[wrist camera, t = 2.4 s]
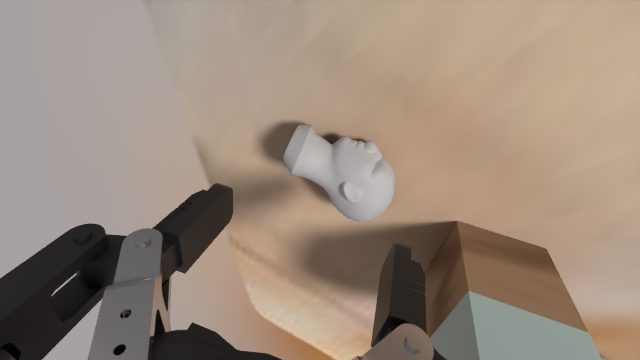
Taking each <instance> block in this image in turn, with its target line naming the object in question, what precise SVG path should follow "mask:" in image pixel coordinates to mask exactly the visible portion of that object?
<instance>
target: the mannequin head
mask: <svg viewBox="0 0 640 360" xmlns="http://www.w3.org/2000/svg"><path fill="white" fill-rule="evenodd" d="M283 161H284V163H285V164H286V166H287V168H288V170H289V172H290V174H291V175H295V176H300V177H304V178H307V179H309V180H311V181H313V182H315V183H317V184H318V185H320V186H321V187H322V188H324V189H325V190H326V192H327V193H328V195H329V197H330V199H331V201H332V203H333V205H334V206H335V207H336V208H337V210H338V211H339V212H340V213H342V214H343V215H344V216H346V217H347V218H349V219H352V220H354V221H359V222H365V221H370V220H373V219H375V218H376V217H378V216H379V215H381V214H382V213H383V212H384V211H385V210H386V208H387V207H388V205H389V204H390V202H391V200H392V198H393V195H394V189H395V177H394V172H393V169H392V166H391V164H390V163H389V162H388V160H387V159H386V158H384V157H383V156H382V154H381V152H380V150H379V148H378V146H377V145H376V143H375V142H373V141H367V142H365V143H364V142H362V141H356V140H352V139H351V138H349V137H348V136H343V137H341V138H340V139H339V140H337V141H336V142H335V143H334V144H330V143H329V142H327V141H326V140H325V139H323V138H322V137H321V136H319V135H318V134H317V133H316V132H315V130H314V127H313V125H298V127H297V128H296V130H295V132H294V134H293V136H292V138H291V140H290V142H289V144H288V146H287V149H286V151H285V154H284V157H283Z"/></svg>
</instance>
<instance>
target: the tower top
mask: <svg viewBox="0 0 640 360" xmlns="http://www.w3.org/2000/svg"><path fill="white" fill-rule="evenodd" d="M430 340H431V342H432V344H433V347H434V348H435V349H436V351H437V352H438V353H439V354H440V355H442V356H443V357H444V358H445V359H447V360H602V359H601V357H600V355H599V353H598V351H597V349H596V347H595V345H594V343H593V341H592V339H591V337H590V335H589V333H588V332H585V331H582V330H579V329H577V328H574V327H571V326H568V325H565V324H562V323H559V322H557V321H554V320H551V319H548V318H545V317H542V316H539V315H537V314H534V313H531V312H528V311H525V310H522V309H519V308H517V307H514V306H511V305H508V304H505V303H502V302H499V301H497V300H494V299H491V298H488V297H485V296H482V295H479V294H477V293H474V292H471V291H468V292H467V293H466V294H465V296H464V297H463V298H462V299H461V301H460V302H459V303H458V304H457V305H456V307H455V308H454V309H453V310H452V312H451V313H450V314H449V315H448V317H447V318H446V319H445V320H444V321H443V323H442V324H441V325H440V326H439V328H438V329H437V330H436V331H435V332H434V334H433V335H432V336H431V337H430Z"/></svg>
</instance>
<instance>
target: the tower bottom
mask: <svg viewBox="0 0 640 360" xmlns="http://www.w3.org/2000/svg"><path fill="white" fill-rule="evenodd" d="M425 287H426V329H427V335H428V337H429V338H430V337H431V336H432V335H433V334H434V332H435V331H436V330H437V329H438V328H439V326H440V325H441V324H442V323H443V321H444V320H445V319H446V318H447V317H448V315H449V314H450V313H451V312H452V310H453V309H454V308H455V307H456V305H457V304H458V303H459V302H460V301H461V299H462V298H463V297H464V296H465V294H466V293H467V292H468V291H471V292H474V293H477V294H479V295H482V296H485V297H488V298H491V299H494V300H497V301H499V302H502V303H505V304H508V305H511V306H514V307H517V308H519V309H522V310H525V311H528V312H531V313H534V314H537V315H539V316H542V317H545V318H548V319H551V320H554V321H557V322H559V323H562V324H565V325H568V326H571V327H574V328H577V329H579V330H582V331H585V332H588V331H587V329H586V327H585V325H584V323H583V321H582V319H581V317H580V315H579V313H578V311H577V309H576V307H575V305H574V303H573V301H572V299H571V297H570V295H569V293H568V291H567V289H566V287H565V285H564V283H563V281H562V279H561V277H560V275H559V273H558V271H557V269H556V267H555V265H554V263H553V261H552V259H551V257H550V255H549V253H548V251H547V249H545V248H542V247H539V246H536V245H532V244H529V243H526V242H523V241H520V240H517V239H513V238H510V237H507V236H504V235H501V234H498V233H495V232H491V231H488V230H485V229H482V228H479V227H476V226H472V225H469V224H466V223H463V222H460V221H457V222H456V223H455V225H454V227H453V228H452V230H451V232H450V233H449V235H448V236H447V238H446V240H445V241H444V243H443V244H442V246H441V248H440V249H439V251H438V252H437V254H436V256H435V257H434V259H433V261H432V262H431V264H430V265H429V267H428V269H427V270H426V272H425Z"/></svg>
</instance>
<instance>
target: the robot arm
mask: <svg viewBox="0 0 640 360" xmlns="http://www.w3.org/2000/svg"><path fill="white" fill-rule="evenodd" d="M232 214H233V190H232V188H230V187H227V186H224V185H221V184H218V183H216V184H214V185H213V186H212V187H211V188H210V189H209V190H207V191H205V190H202V191H199V192H197V193H195V194H193V195H191V196H190V197H189V198H188V199H187V200H185V202H183V203H182V204H181V205H180V206H179V207H178V208H176V209H175V210H174V211H172V212H171V213H170V214H169V215H168V216H167V217H165V218H164V219H163V220H162V221H161V222H160V223H158V224H157V225H156V226H155V227H153V228H152V229H149V228H147V229H141V230H137V231H135V232H133V233H131V234H129V235H128V236H120V235H106V233H105V230H104V228H103V227H102V226H100V225H97V224H84V225H80V226H77V227H74V228H72V229H70V230H69V231H67V232H66V233H64V234H63V235H61V236H60V237H59V238H57V239H56V240H54V241H53V242H52V243H50V244H49V245H47V246H46V247H45V248H43V249H42V250H41V251H39V252H38V253H36V254H35V255H34V256H32V257H30V258H29V259H27V260H26V261H25V262H23V263H22V264H20V265H19V266H17V267H16V268H15V269H13V270H12V271H10V272H9V273H7V274H6V275H5V276H3V277H2V278H0V360H42V359H43V358H44V357H45V356H46V355H47V354H48V353H49V352H50V351H51V350H52V348H54V347H55V346H56V344H58V342H60V341H61V340H62V339H63V338H64V337H65V336H66V335H67V333H68V332H69V331H70V330H71V329H72V328H73V327H74V326H75V325H76V324H77V323H78V322H79V321H80V320H81V319H82V318H83V317H84V316H85V315H86V314H87V313H88V312H89V311H90V310H91V309H92V308H93V307H94V306H95V305H96V304H97V303H98V302H99V301H100V300H101V299H102V298H103V299H102V303H101V307H100V311H99V315H98V319H97V324H96V327H95V331H94V336H93V340H92V344H91V348H90V352H89V356H88V360H281V359H279V358H277V357H274V356H272V355H270V354H265V353H257V352H247V351H239V350H237V349H235V348H234V347H233V346H232V345H230V344H229V343H228V342H227V341H226V340H224V339H223V338H222V337H221V336H220V335H219V334H217V333H216V332H214V331H212V330H209V329H207V328H204V327H202V326H200V325H197V324H195V323H192V324H191V325H190V326H189V328H188V329H187V330H175V331H171V328H170V297H171V275H172V274H173V273H174V272H175V271H176V270H177V271H179V272H182V273H186V272H187V271H188V270H189V268H190V267H191V266H192V265H193V264H194V263H195V261H196V260H197V259H198V258H199V257H200V256H201V254H202V253H203V252H204V251H205V250H206V249H207V248H208V246H209V245H210V244H211V243H212V242H213V240H214V239H215V238H216V237H217V236H218V235H219V234H220V232H221V231H222V230H223V229H224V228H225V227H226V225H227V224H228V223H229V222H230V220H231V217H232ZM75 273H76V274H77V275H76V276H75V277H74V278H72V279H71V280H70V281H69V282H68V283H67V284H65V285H64V286H63V287H62V288H61V289H60V290H58V291H57V292H56V293H55V294H54V295H53V296H51V295H52V294H53V292H54V291H55V290H56V289H57V288H59V287H60V286H61V285H62V284H63V283H64V282H65V281H66V280H68V279H69V278H70V277H71V276H73V275H74V274H75ZM371 347H372V348H371V349H370V350H369V351H368V352H366V353H365V354H364V355H362V356H361V357H359V356H357V357H355V358H353V359H352V360H447V359H445V358H444V357H443V356H442V355H440V354H439V353H438V352H437V351H436V349H435V348H434V347H433V344H432V342H431V340H430V338H429V337H428V335H427V329H426V296H425V273H424V271H423V269H422V267H421V265H420V263H418V262H415V261H412V260H411V248H410V247H407V246H404V245H401V244H398V243H395V242H394V243H393V245H392V247H391V249H390V251H389V254H388V256H387V258H386V260H385V262H384V265H383V268H382V271H381V275H380V282H379V290H378V297H377V304H376V312H375V319H374V327H373V334H372V342H371Z"/></svg>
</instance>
